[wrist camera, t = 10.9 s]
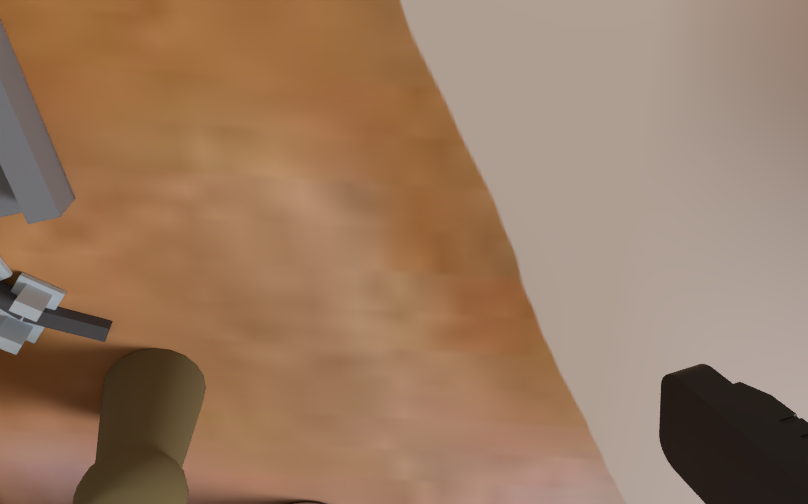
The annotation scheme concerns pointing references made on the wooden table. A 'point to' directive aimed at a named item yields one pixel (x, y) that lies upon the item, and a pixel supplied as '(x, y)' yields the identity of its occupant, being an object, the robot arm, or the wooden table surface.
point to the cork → (144, 430)
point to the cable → (60, 318)
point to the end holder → (26, 149)
